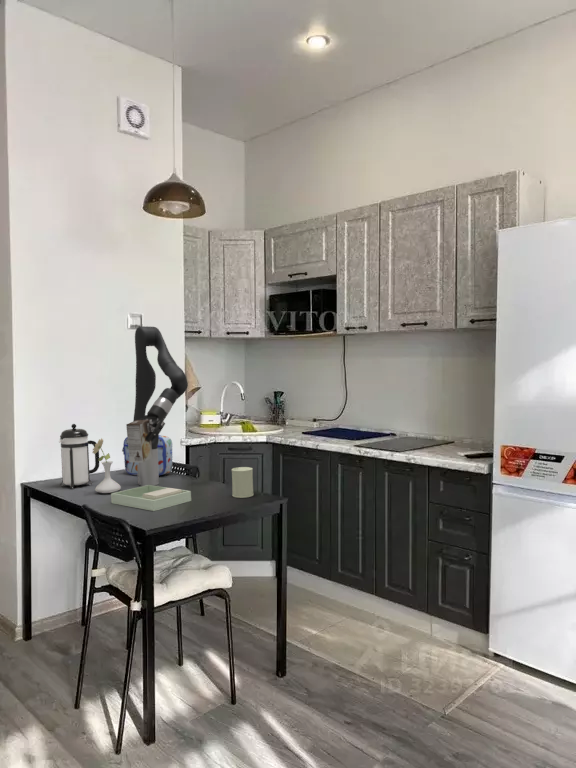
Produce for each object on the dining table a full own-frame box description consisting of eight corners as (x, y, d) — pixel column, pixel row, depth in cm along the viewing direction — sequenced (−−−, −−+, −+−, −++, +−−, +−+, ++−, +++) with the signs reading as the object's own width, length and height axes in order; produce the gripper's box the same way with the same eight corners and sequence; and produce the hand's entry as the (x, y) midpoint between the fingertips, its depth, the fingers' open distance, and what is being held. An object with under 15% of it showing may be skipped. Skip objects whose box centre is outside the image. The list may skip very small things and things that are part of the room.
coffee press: (88, 489, 292) (86, 425, 291) (54, 489, 292) (52, 425, 291) (100, 481, 309) (98, 421, 308) (68, 482, 310) (66, 422, 308)
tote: (111, 505, 257) (111, 493, 257) (149, 496, 273) (148, 484, 273) (153, 513, 241) (153, 500, 241) (191, 503, 257) (190, 491, 257)
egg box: (142, 506, 250) (142, 493, 249) (169, 499, 261) (168, 487, 261) (156, 508, 245) (155, 496, 245) (182, 501, 256) (182, 489, 256)
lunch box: (119, 475, 325) (118, 433, 324) (131, 471, 335) (130, 430, 334) (164, 477, 315) (162, 434, 314) (175, 474, 324) (174, 432, 323)
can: (233, 493, 274) (232, 466, 274) (254, 492, 274) (253, 465, 273) (230, 498, 265) (230, 469, 264) (252, 497, 265) (251, 469, 264)
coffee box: (139, 456, 265) (136, 419, 263) (153, 457, 264) (150, 419, 261) (129, 462, 256) (125, 424, 254) (143, 462, 255) (140, 424, 253)
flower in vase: (108, 488, 291) (105, 435, 290) (126, 490, 286) (124, 436, 285) (86, 494, 280) (84, 439, 279) (105, 496, 274) (103, 440, 273)
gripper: (143, 403, 270) (123, 433, 262) (166, 404, 262) (146, 435, 253) (153, 414, 275) (134, 444, 266) (176, 416, 266) (156, 446, 258)
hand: (140, 439), depth 260 cm, fingers closed on coffee box, 8 cm apart
